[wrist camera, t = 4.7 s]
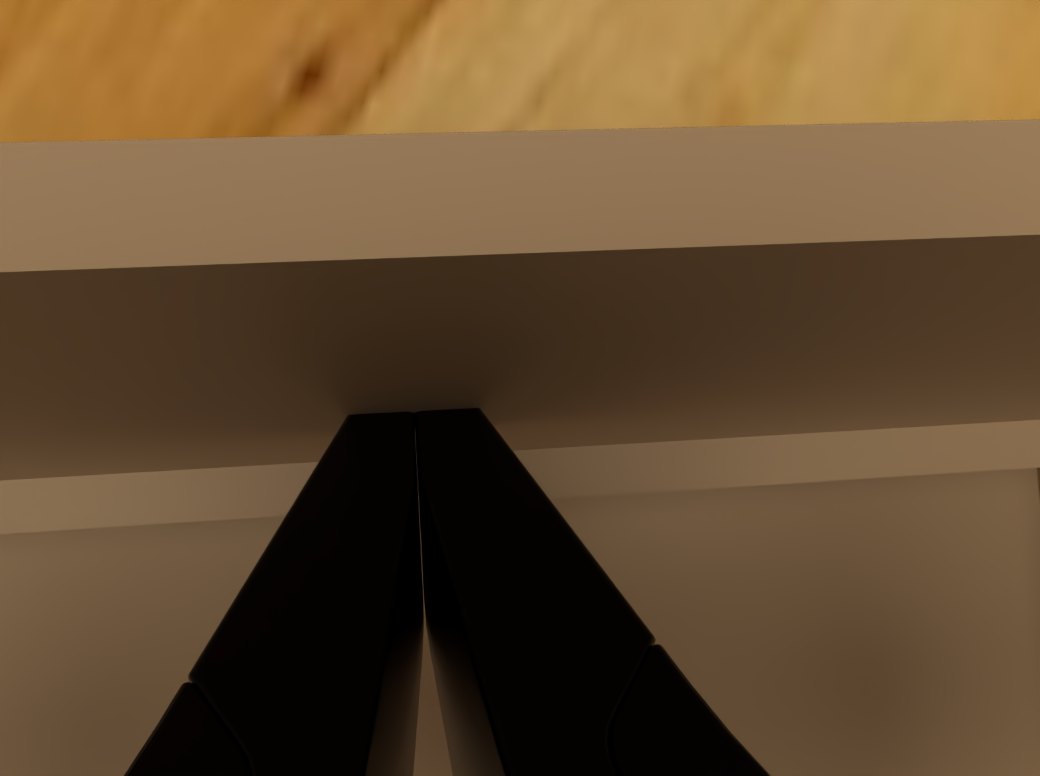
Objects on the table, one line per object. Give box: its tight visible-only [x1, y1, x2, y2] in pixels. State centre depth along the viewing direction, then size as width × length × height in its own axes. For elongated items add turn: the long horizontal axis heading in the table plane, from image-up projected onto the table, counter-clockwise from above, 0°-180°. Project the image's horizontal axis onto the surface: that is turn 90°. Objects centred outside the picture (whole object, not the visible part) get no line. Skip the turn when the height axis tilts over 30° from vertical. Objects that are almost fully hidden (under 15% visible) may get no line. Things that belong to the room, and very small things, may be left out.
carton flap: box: [0, 119, 1040, 481], centre depth 8 cm, size 8×23×1 cm
